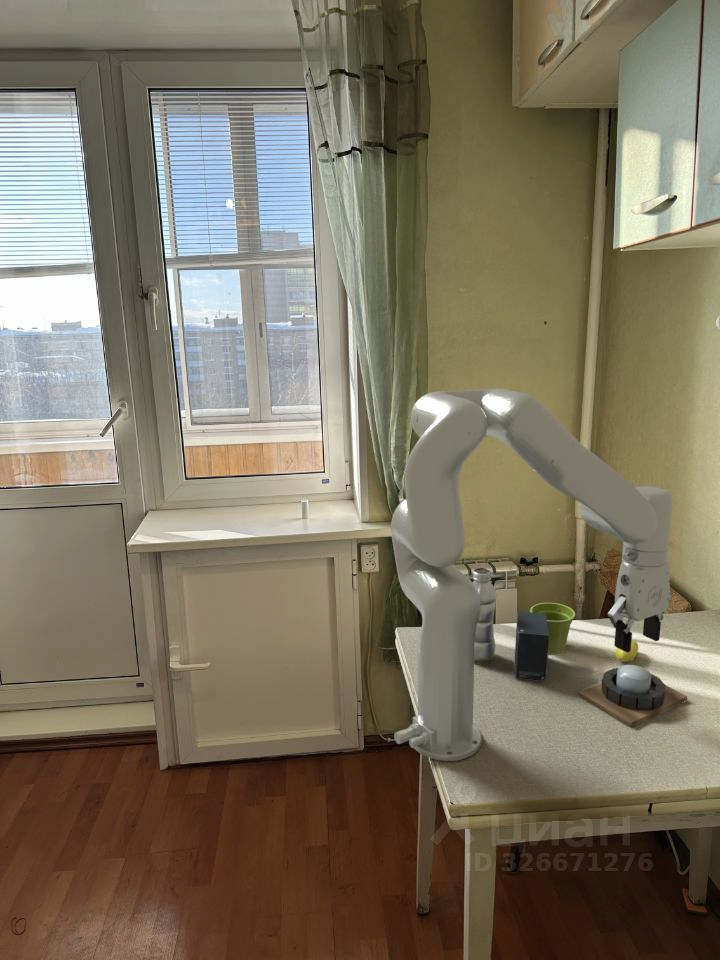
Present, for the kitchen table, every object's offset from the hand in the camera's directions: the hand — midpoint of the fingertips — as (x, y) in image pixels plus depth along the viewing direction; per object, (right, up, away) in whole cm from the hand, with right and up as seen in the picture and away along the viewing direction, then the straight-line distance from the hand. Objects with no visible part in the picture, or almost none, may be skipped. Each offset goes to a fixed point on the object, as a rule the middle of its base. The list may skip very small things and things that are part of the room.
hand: (636, 643), depth 128 cm
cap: (0, -10, +3) cm, 11 cm away
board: (0, -11, +3) cm, 12 cm away
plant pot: (-10, -7, +23) cm, 26 cm away
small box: (-16, -9, +15) cm, 24 cm away
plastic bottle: (-26, -8, +20) cm, 34 cm away
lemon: (+5, -8, +18) cm, 20 cm away
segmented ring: (0, -11, +3) cm, 12 cm away
